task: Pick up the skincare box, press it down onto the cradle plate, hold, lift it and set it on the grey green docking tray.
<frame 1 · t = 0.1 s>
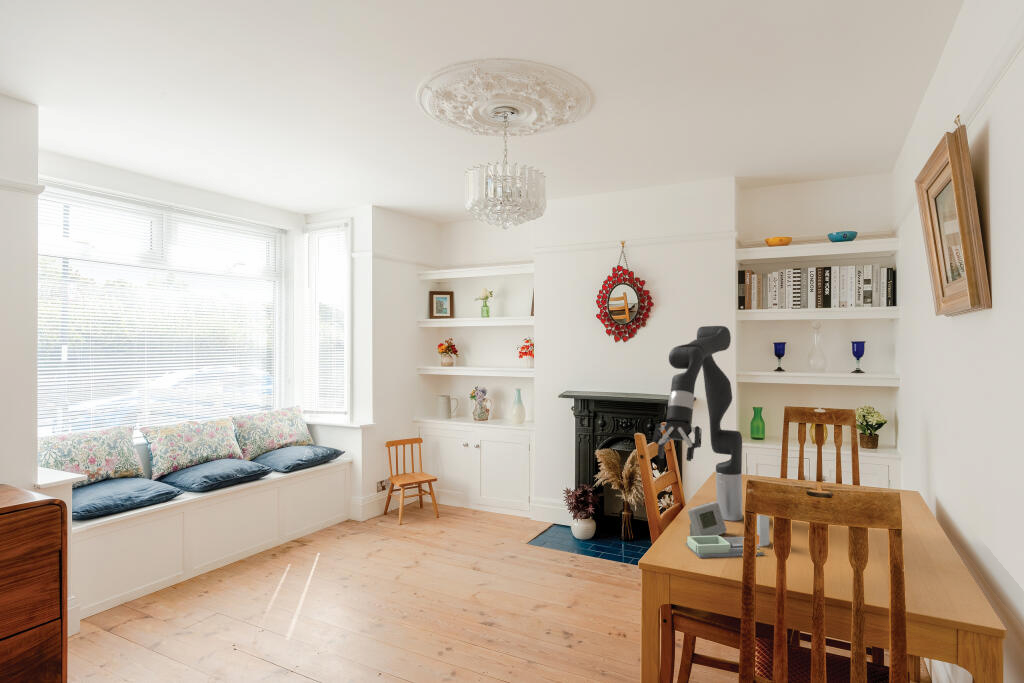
hand: (674, 459, 175), 31 cm above the table, tool tilted 20°, fingers open, 8 cm apart
grey green docking tray: (723, 550, 185), on the table
cradle plate: (737, 541, 186), point 3 cm above the table, slide at 0.0 cm
skincare box: (758, 544, 191), on the table
digital clock: (707, 537, 199), on the table
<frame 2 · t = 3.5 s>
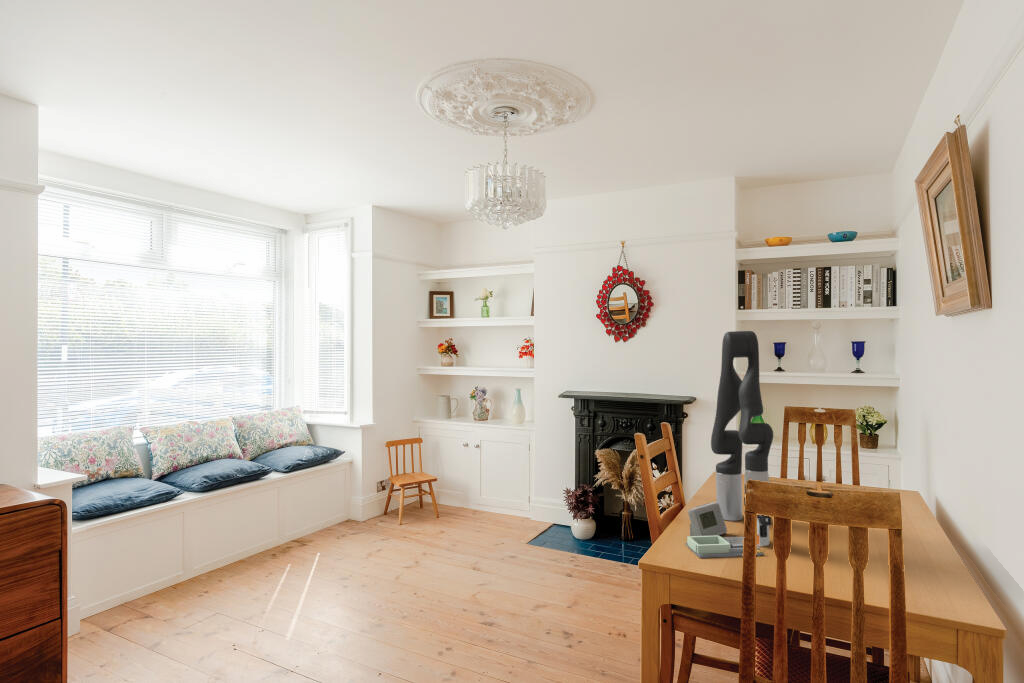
hand: (757, 533, 191), 3 cm above the table, tool pointing down, fingers closed on skincare box, 7 cm apart
skincare box: (758, 544, 191), on the table, touching gripper
everything else where it was.
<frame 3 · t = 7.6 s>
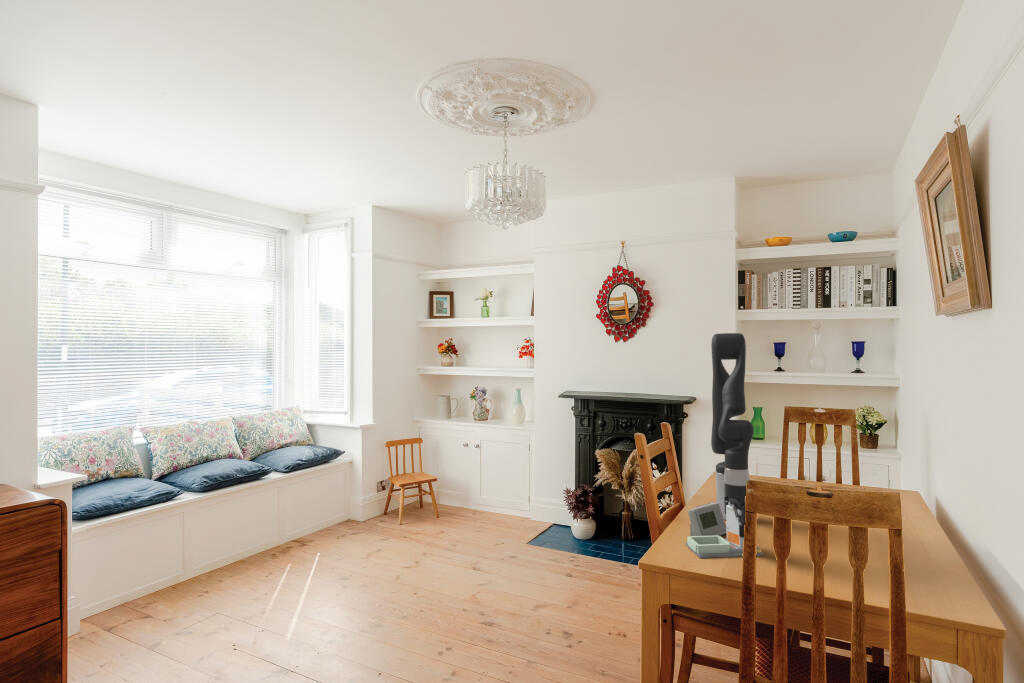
hand: (737, 533, 186), 5 cm above the table, tool pointing down, fingers closed on skincare box, 7 cm apart
cradle plate: (737, 545, 186), point 1 cm above the table, slide at 1.2 cm, touching skincare box
skincare box: (738, 544, 186), point 2 cm above the table, touching cradle plate, gripper
everything else where it was.
when the fingers open (5 cm above the table, at t = 12.2 s): skincare box stays where it is, resting on grey green docking tray.
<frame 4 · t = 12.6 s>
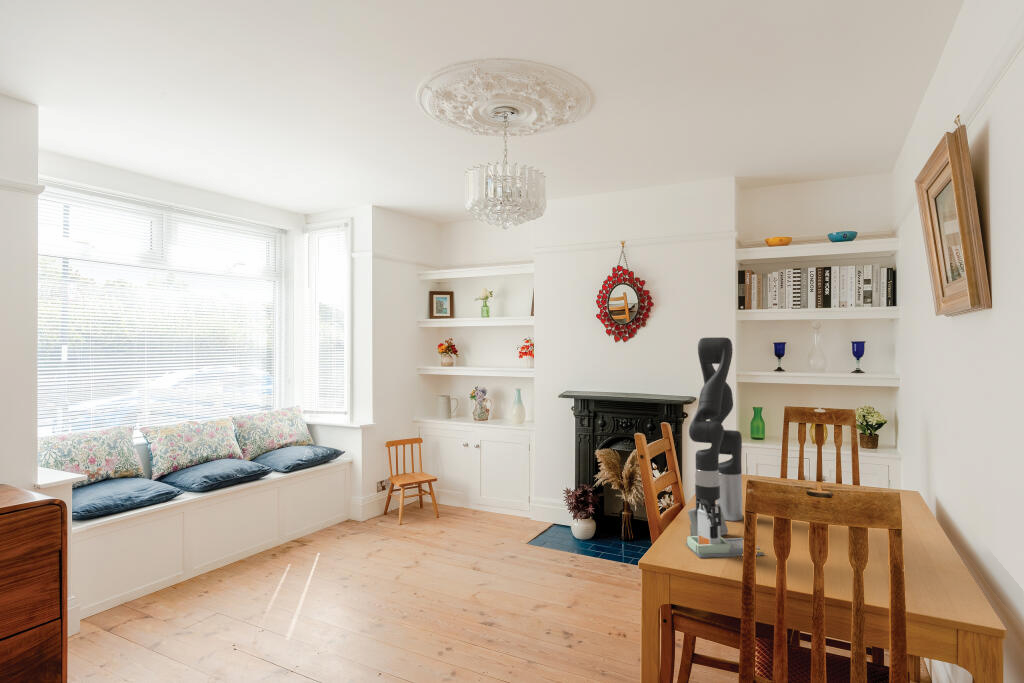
hand: (708, 533, 185), 5 cm above the table, tool pointing down, fingers open, 8 cm apart
cradle plate: (737, 545, 186), point 1 cm above the table, slide at 1.2 cm
skincare box: (709, 549, 185), point 1 cm above the table, touching grey green docking tray
everything else where it was.
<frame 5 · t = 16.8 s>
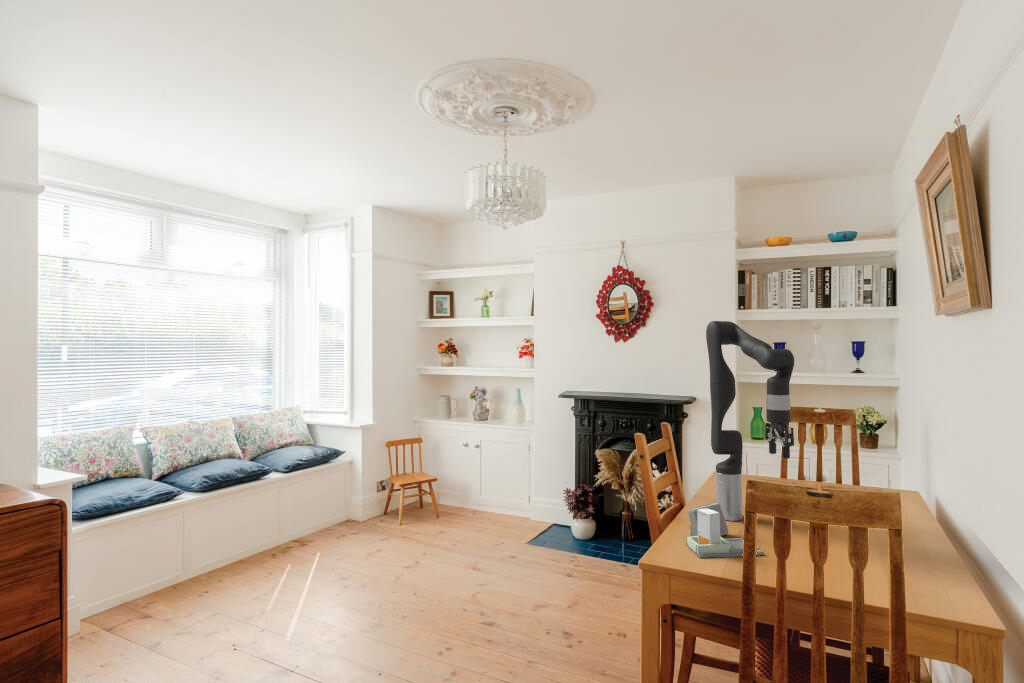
hand: (779, 455, 195), 28 cm above the table, tool pointing down, fingers open, 8 cm apart
at the end: skincare box 0.2 cm from the target spot on the grey green docking tray, point 0.6 cm above the grey green docking tray's base; skincare box tilted 0°; the gripper is holding nothing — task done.
